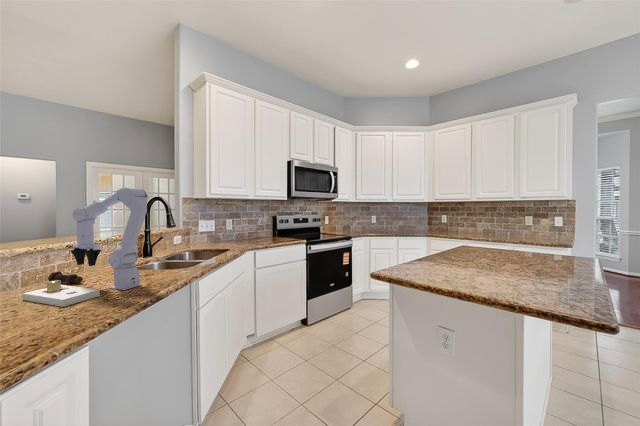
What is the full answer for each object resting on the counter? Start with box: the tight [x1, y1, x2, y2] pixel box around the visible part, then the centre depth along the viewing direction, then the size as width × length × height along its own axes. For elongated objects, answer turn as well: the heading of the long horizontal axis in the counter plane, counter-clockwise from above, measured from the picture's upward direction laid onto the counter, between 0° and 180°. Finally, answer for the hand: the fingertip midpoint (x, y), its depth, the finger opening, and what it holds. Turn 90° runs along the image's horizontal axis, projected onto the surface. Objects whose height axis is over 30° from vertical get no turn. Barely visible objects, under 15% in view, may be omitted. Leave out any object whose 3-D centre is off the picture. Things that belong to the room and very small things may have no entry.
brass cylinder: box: [46, 280, 62, 293], centre depth 107 cm, size 4×4×6 cm
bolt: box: [47, 271, 84, 285], centre depth 127 cm, size 6×5×15 cm
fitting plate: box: [22, 284, 101, 307], centre depth 106 cm, size 24×12×3 cm, turn 71°
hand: (86, 265), depth 122 cm, fingers open, 7 cm apart
